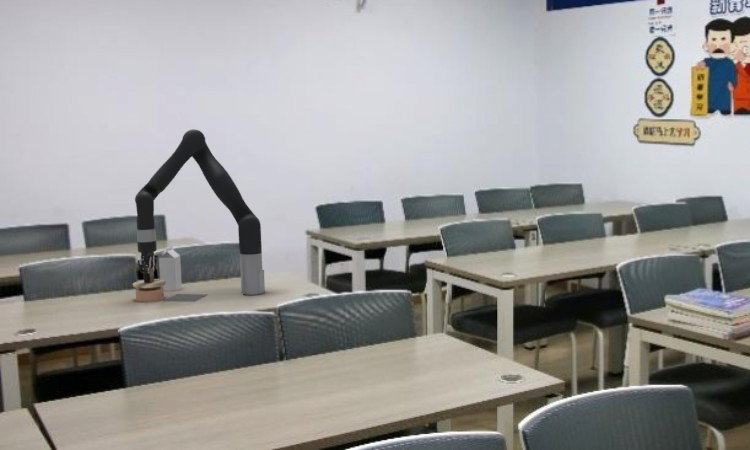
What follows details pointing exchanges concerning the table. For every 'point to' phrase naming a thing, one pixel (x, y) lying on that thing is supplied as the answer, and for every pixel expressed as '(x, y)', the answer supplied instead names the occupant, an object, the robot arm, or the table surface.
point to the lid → (150, 284)
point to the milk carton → (170, 270)
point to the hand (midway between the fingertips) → (149, 281)
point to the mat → (186, 297)
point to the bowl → (149, 294)
